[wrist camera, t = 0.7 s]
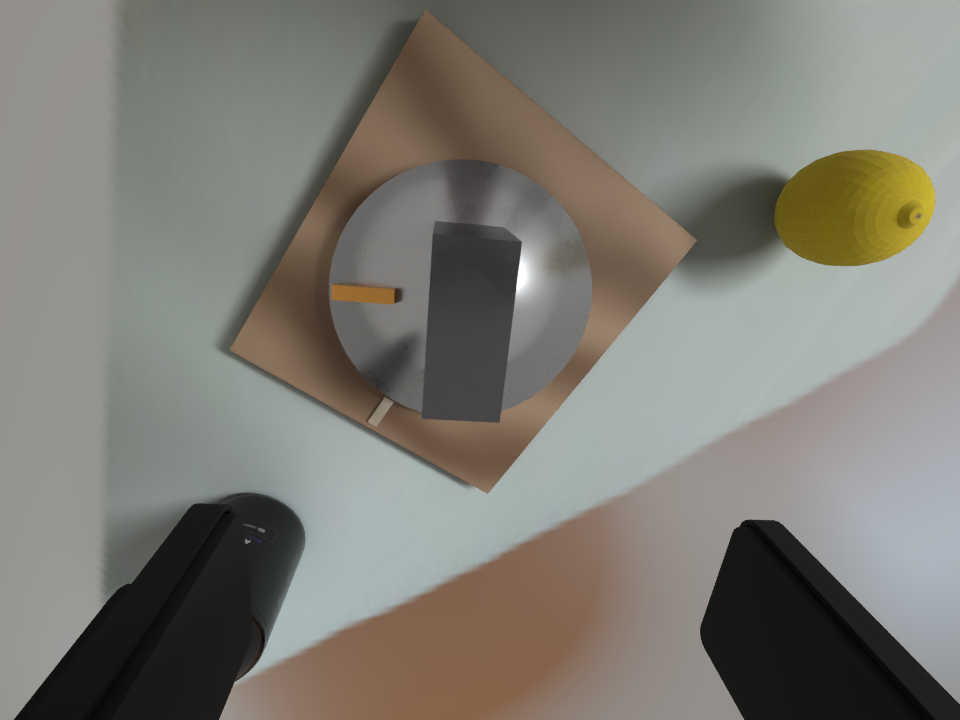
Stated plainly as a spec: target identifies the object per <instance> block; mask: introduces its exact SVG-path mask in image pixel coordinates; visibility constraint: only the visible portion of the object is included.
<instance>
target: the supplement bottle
mask: <svg viewBox="0 0 960 720" xmlns="http://www.w3.org/2000/svg"><path fill="white" fill-rule="evenodd" d="M219 504H228V505H231V507H232V508H233V513H240V514H241V515H242V517H243V524H244V534H245V545H246V556H247V566H248V577H249V587H250V598H251V609H252V619H253V631H252V637H251V641H250V645H249V648H248V650H247V653H246V655H245V657H244V660H243V662H242V665H241V667H240V670H239V672H238V674H237V677H236V679H235V681H237V680H239V679H240V678H242V677H243V676H244V675H246V674H247V673H248V672H249V671H250V670H251V669H252V668H253V667H254V666H255V665H256V663H257V662H258V661H259V659H260V658H261V656H262V654H263V651H264V649H265V647H266V645H267V642H268V640H269V637H270V635H271V632H272V630H273V627H274V624H275V622H276V619H277V617H278V614H279V612H280V609H281V607H282V604H283V602H284V599H285V597H286V594H287V592H288V589H289V587H290V584H291V582H292V579H293V576H294V574H295V571H296V569H297V566H298V564H299V561H300V558H301V556H302V553H303V550H304V546H305V531H304V528H303V525H302V523H301V521H300V519H299V518H298V516H297V515H296V514H295V513H294V512H293V511H292V510H291V509H290V508H289V507H288V506H286V505H285V504H283V503H282V502H280V501H278V500H276V499H273V498H270V497H267V496H263V495H255V494H247V495H239V496H235V497H231V498H229V499H226V500H224V501H222V502H221V503H219Z"/></svg>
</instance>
